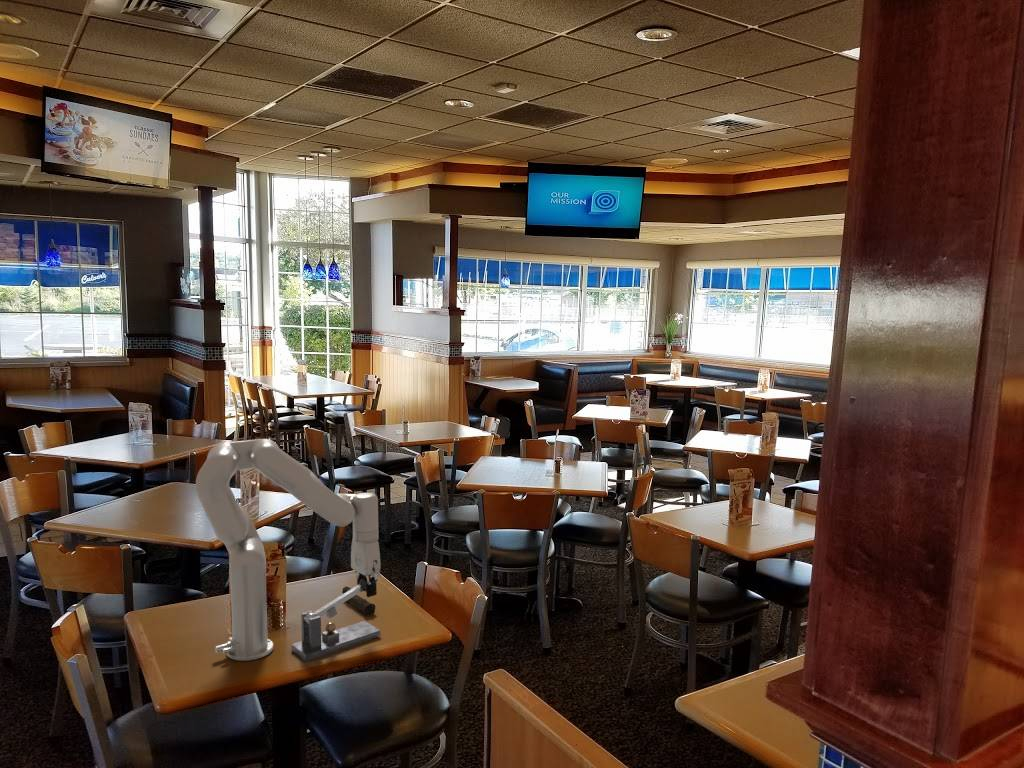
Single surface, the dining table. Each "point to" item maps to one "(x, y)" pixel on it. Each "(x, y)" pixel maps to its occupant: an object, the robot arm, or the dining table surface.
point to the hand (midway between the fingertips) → (366, 592)
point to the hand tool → (360, 603)
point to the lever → (337, 602)
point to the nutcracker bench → (325, 648)
